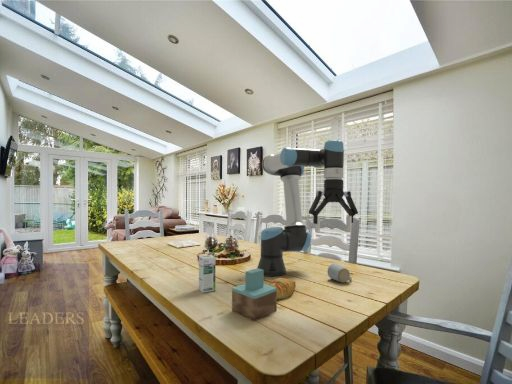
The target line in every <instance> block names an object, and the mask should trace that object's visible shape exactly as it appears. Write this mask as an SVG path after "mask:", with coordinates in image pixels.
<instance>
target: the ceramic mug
mask: <svg viewBox="0 0 512 384" xmlns="http://www.w3.org/2000/svg"><path fill="white" fill-rule="evenodd" d="M350 274H351V273H350V271H349V269H348V268H347V267H345V266H343V265H341V264H338V263H335V262H333V263H331V264H330V265H329V266H328V268H327V276H328V278H330V279H331V280H333V281H336V282H337V283H341V284H344V283H347V282H348V281H352V279H353V277H352V276H351V275H350Z"/></svg>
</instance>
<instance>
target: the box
mask: <svg viewBox="0 0 512 384" xmlns="http://www.w3.org/2000/svg"><path fill="white" fill-rule="evenodd" d="M231 293H232V295H231V297H232V298H231V311H232V312H234V313H235V314H237V315H240V316H242V317H245V318H247V319H249V320H251V321H254V322H256V321H258V320H260V319H262V318H265V317H266V316H269V315H271V314H273V313H275V312H277V311H278V310H277V307H278V306H277V305H278V303H277V302H278V301H277V291H275V292H272V293H270V294H267V295H264V296H262V297H259V298H257V299H253V298H250V297H248V296H245V295H242V294H240V293H237V292H234V291H232V290H231Z"/></svg>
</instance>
